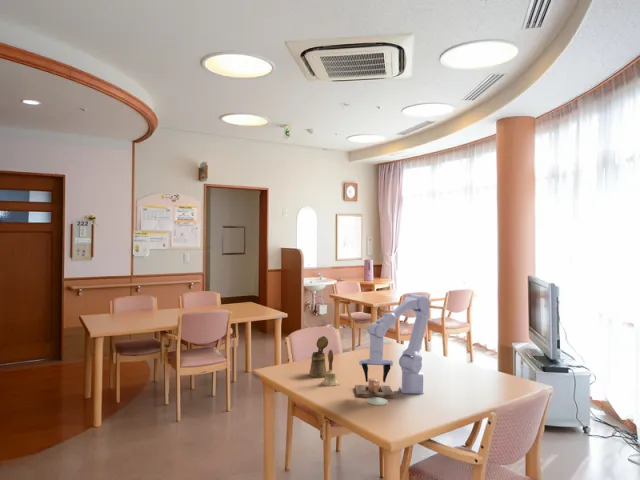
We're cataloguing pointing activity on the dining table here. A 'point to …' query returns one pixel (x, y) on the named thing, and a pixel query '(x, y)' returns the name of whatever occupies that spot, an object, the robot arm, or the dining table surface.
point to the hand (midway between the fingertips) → (375, 381)
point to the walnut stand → (384, 393)
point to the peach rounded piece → (373, 385)
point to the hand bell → (330, 373)
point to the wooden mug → (319, 359)
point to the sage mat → (377, 401)
